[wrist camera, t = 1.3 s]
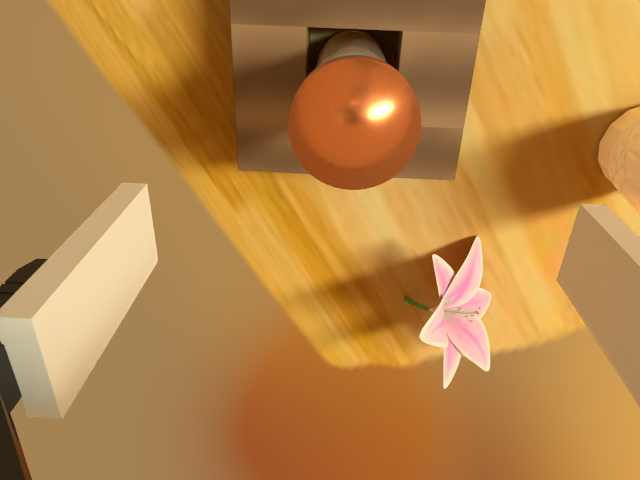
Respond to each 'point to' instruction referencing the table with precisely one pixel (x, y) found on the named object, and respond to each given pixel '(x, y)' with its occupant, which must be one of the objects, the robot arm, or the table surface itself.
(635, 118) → the white cup
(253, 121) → the socket block
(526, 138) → the table surface
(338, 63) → the copper-capped cylinder
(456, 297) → the lily
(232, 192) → the table surface
